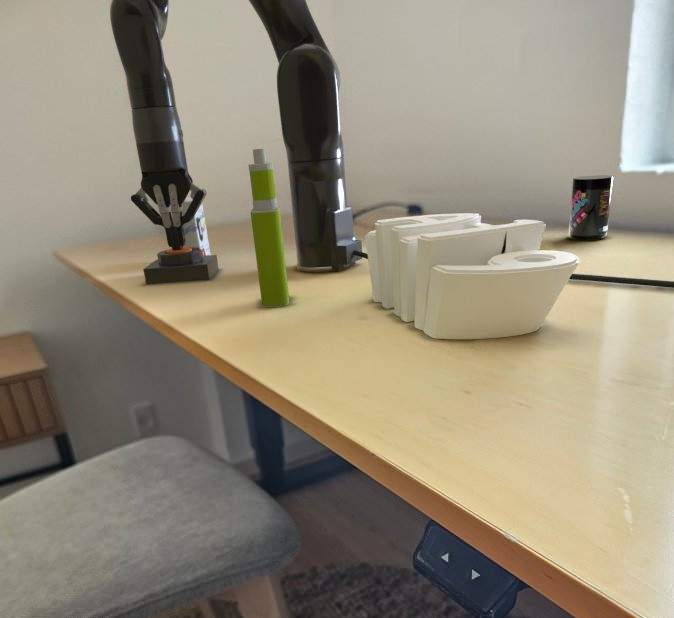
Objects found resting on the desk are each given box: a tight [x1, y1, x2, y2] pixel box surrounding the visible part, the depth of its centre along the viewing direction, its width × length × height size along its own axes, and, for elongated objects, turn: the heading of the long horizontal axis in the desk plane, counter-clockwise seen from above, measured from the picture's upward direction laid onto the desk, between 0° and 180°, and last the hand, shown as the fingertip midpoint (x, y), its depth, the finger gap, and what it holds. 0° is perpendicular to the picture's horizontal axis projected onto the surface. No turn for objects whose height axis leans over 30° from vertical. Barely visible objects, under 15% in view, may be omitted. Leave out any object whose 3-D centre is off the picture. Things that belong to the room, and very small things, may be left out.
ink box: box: [183, 196, 212, 256], centre depth 126 cm, size 9×5×12 cm, turn 179°
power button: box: [165, 247, 192, 254], centre depth 114 cm, size 4×4×2 cm
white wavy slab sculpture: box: [364, 212, 581, 340], centre depth 81 cm, size 35×16×11 cm, turn 14°
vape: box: [248, 148, 290, 308], centre depth 90 cm, size 4×6×20 cm, turn 2°
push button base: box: [143, 247, 220, 285], centre depth 115 cm, size 11×9×4 cm
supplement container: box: [568, 174, 614, 242], centre depth 119 cm, size 7×7×10 cm
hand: (178, 249), depth 114 cm, fingers closed
